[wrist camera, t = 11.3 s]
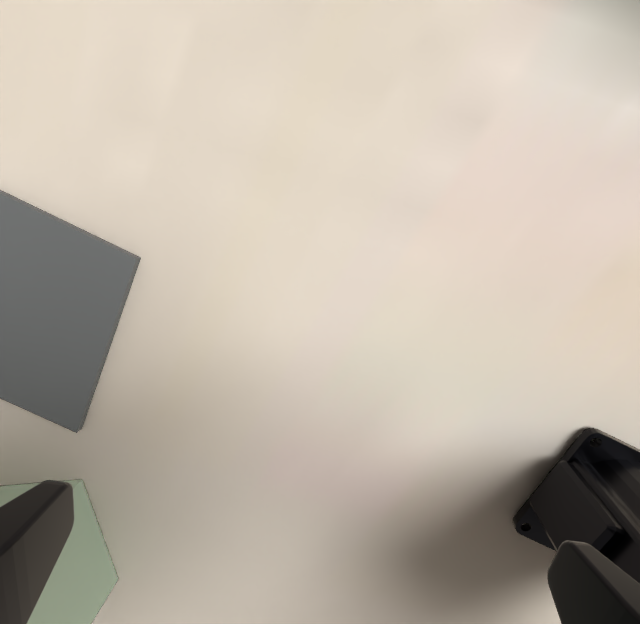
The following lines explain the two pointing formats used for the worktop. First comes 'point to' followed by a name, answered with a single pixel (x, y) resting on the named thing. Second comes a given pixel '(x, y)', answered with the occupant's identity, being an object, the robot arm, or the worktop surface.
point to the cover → (74, 566)
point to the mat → (56, 310)
